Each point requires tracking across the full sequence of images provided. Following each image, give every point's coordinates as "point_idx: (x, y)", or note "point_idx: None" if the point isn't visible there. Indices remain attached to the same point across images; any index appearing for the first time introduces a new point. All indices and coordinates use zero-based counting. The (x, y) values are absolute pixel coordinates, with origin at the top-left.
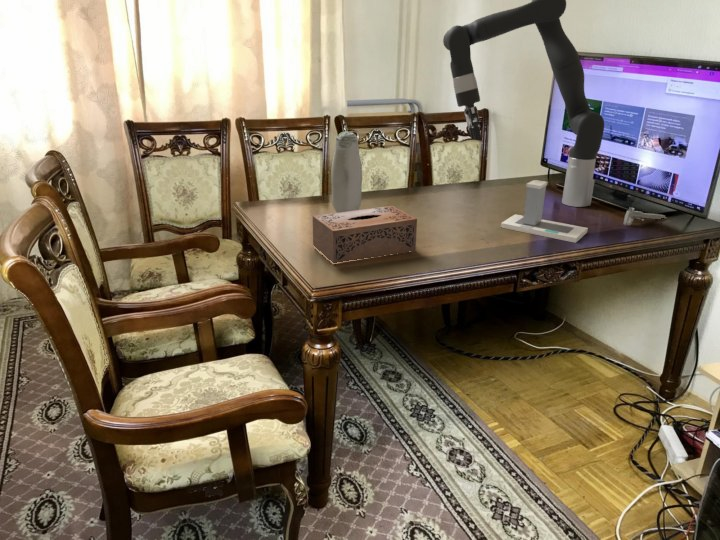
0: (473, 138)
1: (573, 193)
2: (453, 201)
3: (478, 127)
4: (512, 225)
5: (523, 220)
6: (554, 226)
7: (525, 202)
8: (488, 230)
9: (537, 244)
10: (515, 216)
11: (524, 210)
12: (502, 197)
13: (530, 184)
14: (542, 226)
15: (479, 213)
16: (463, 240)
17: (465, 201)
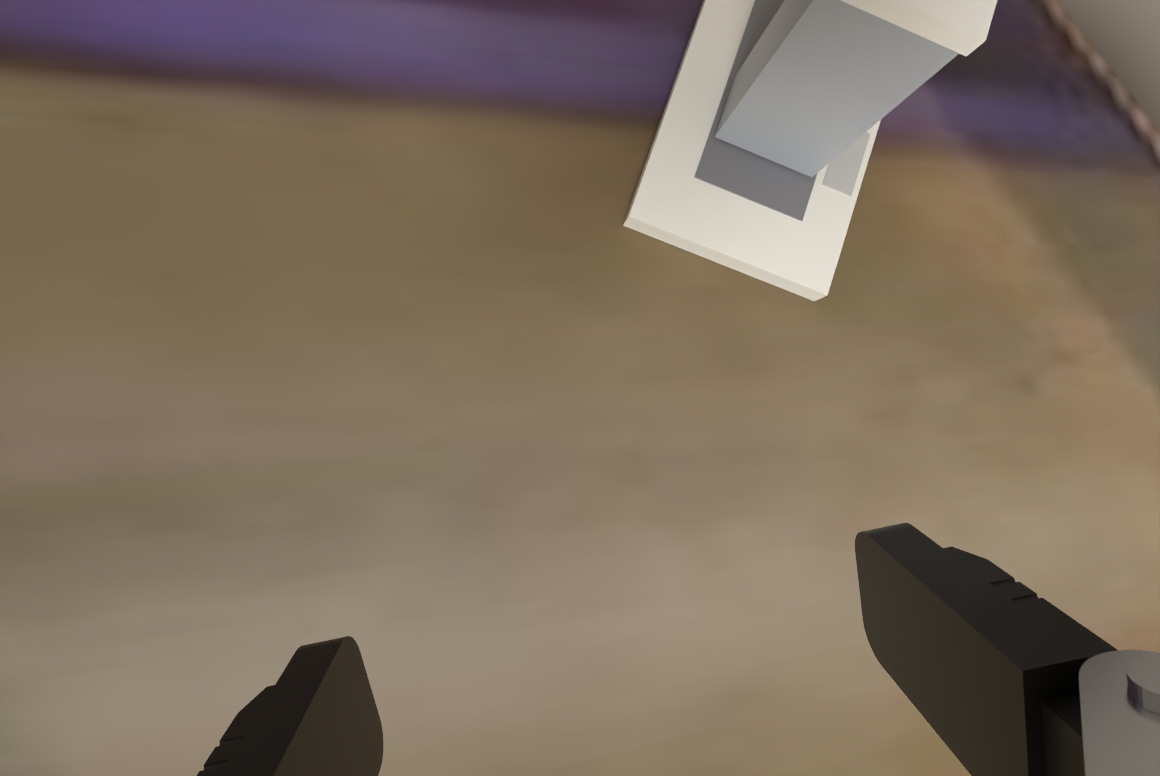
0: (377, 716)
1: None
2: None
3: (1074, 668)
4: (845, 233)
5: (821, 167)
6: None
7: (884, 114)
8: (883, 363)
9: (1003, 126)
10: (675, 215)
11: (853, 140)
12: (113, 307)
13: (992, 13)
14: None
15: (582, 438)
16: (1073, 474)
17: (313, 564)
